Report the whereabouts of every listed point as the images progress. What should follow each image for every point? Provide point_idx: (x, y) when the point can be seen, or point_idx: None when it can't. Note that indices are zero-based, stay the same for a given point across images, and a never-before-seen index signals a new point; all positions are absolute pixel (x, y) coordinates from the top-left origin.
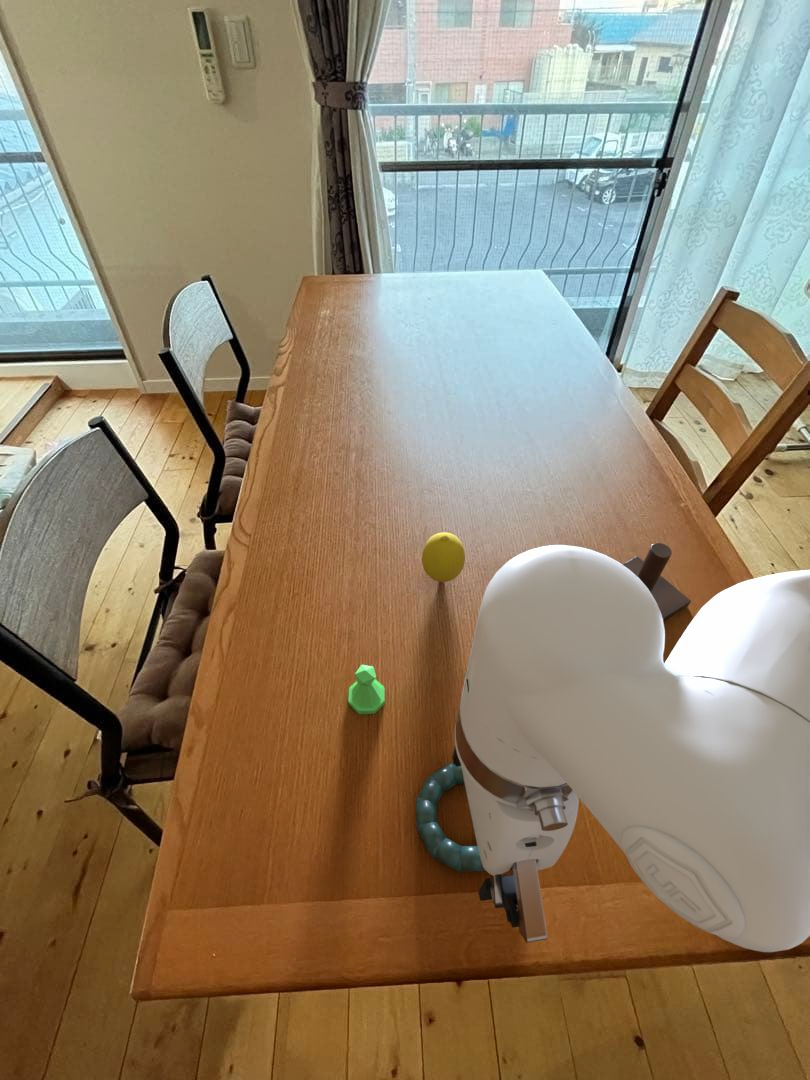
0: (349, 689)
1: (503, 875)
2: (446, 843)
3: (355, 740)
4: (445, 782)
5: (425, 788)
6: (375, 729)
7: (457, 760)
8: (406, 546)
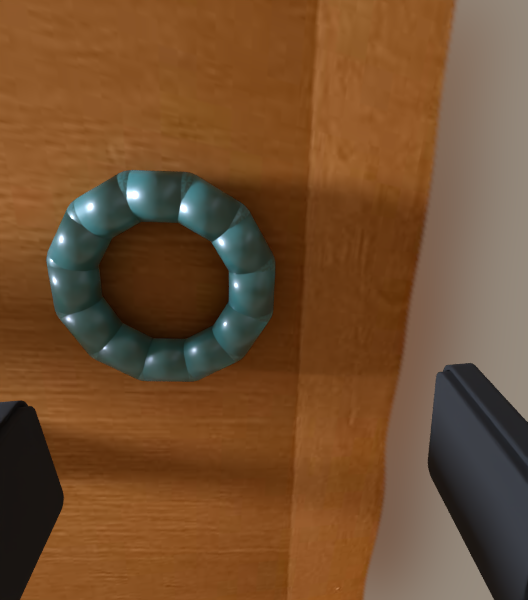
0: None
1: (525, 586)
2: (226, 339)
3: None
4: (100, 329)
5: (117, 368)
6: None
7: (40, 552)
8: None
